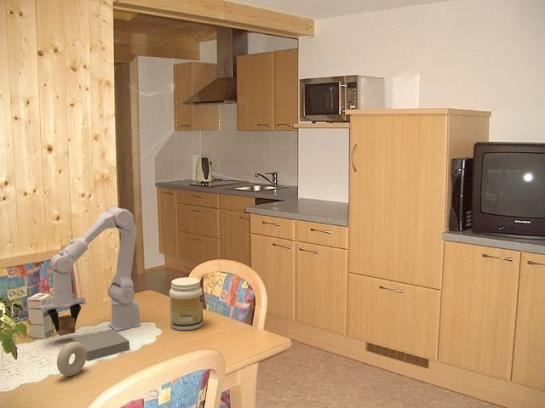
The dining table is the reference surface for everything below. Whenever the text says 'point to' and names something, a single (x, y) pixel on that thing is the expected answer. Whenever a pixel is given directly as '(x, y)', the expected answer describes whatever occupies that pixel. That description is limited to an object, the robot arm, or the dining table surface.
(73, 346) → the donut
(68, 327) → the walnut block
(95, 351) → the slate plinth
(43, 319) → the syrup box
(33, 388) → the dining table surface
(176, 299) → the supplement tub
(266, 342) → the dining table surface
